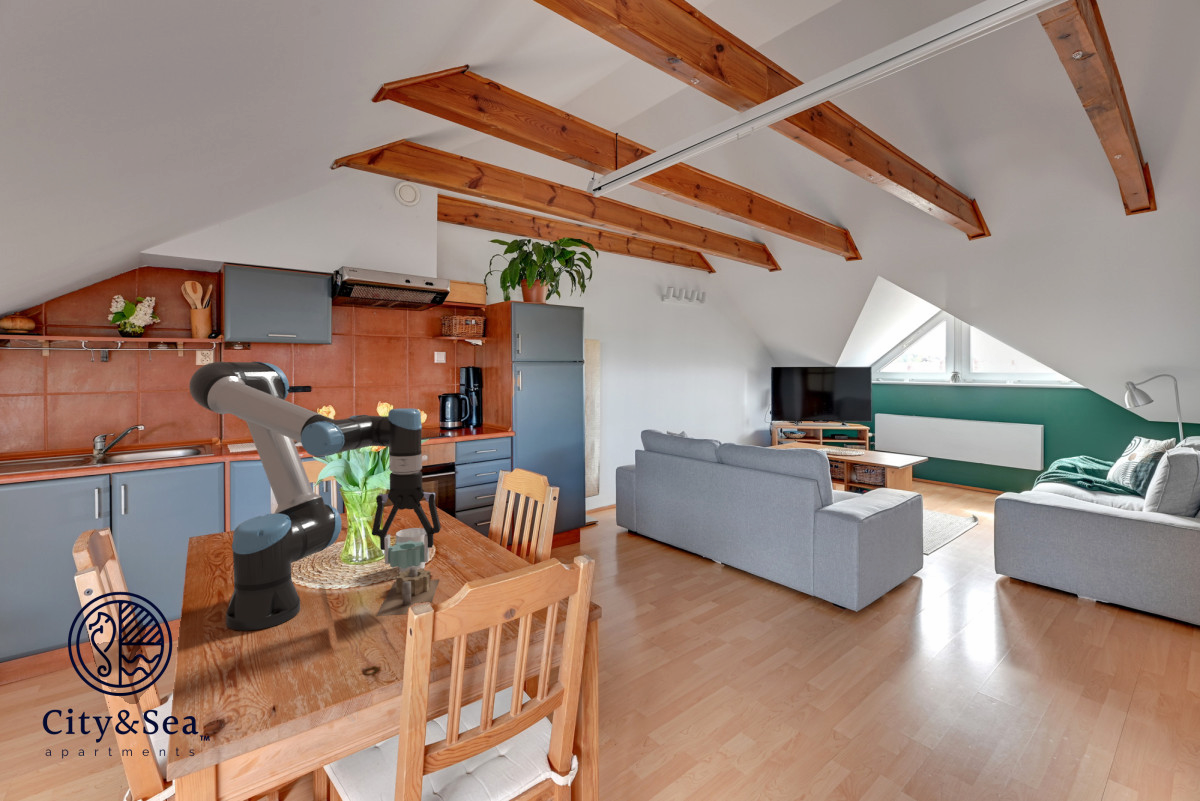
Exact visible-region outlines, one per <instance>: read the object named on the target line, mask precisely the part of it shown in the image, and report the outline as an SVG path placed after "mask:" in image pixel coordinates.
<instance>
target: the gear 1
mask: <svg viewBox="0 0 1200 801" xmlns="http://www.w3.org/2000/svg"><path fill="white" fill-rule="evenodd" d="M421 562H424V544H423V542H421V541H420V542H413V541H408V542H403V543H400V542H398V543H394V545H390V547H389V564H388V565H390V566H389V567H391V568H393V569H394V568H399V567H401V569H404V568H407V567H411V566H419V565H420V563H421Z"/></svg>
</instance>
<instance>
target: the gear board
mask: <svg viewBox="0 0 1200 801" xmlns="http://www.w3.org/2000/svg"><path fill="white" fill-rule="evenodd" d="M409 573H410V577H416V576H417V568H416V567H413V568H410V569H409ZM430 582H431V586H430V587H429V590H428V591H427V592H426V591H423V592H421V593H420V594H419V595H414V594H412V595H411V581H405V582H403V583H402V585H403V595H402V593H401V592H400V593H397V592H396V580H395V581H394V582H393V583H392V585H391V588H390V589H389V591H388V593H387V595H386V597H385V599H384V600H383V602H382V604H381V606H380V608H379V610H377V613H376V615H375V616H376V617H383V616H401V615H408V614H407V612H408V608H409V607H410V606H411V605H413V604H415V603H421V602H430V603H433V600H434V597H435V595H436V591H437V589H438V586H439V583H440V579H430Z"/></svg>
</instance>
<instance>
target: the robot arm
mask: <svg viewBox="0 0 1200 801" xmlns="http://www.w3.org/2000/svg"><path fill="white" fill-rule="evenodd" d="M288 390H290V383H289V379H288V377H287V376H286V374H285V372H284V371H283V370H282V369H281V368H280V367H279V366H277V365H275V364H272V363H270V362H262V361H251V362H250V361H247V362H246V361H244V362H243V361H215V362H210V363H206V364H205V365H202V366H201V367H199V368H198V369H196V371H195V372H194V373H193V374H192V376H191V377H190V380H189V393H190V395H191V397H192V398H193V400H194V401H195V402H196V403H197V404H198V405H200V406H201V407H203V408H204V409H206V410H209V411H211V412H214V413H215V414H220V415H227V414H231V415H232V416H235V417H237V418H238V419H240V420H243V421H244V422H245V423H246V425H247V427H248V430H249V432H250V435H251V438H252V442H253V443H254V445H255V448H256V451H257V454H258V456H259V459H260V462H261V465H262V467H263V470H264V473H265V474H266V478H267V479H268V483H269V486H270V488H271V490H272V494H273V496H274V498H275V501H276V504H277V507H276V508H275V509H276V510H275V511H274V513H268V514H265V515H258V516H254V517H252V518H249V519H247V520H244V521H243V522H241V523H240V524H239V525H237V527H236V528H235V529H234V531H233V532H232V544H231V548H232V549H231V550H232V558H233V562H232V563H233V585H234V586H233V587H234V588H233V592H232V595H231V599H230V601H229V604H228V607H227V610H226V614H225V625H226V626H227V628H229V629H231V630H235V631H241V632H242V631H246V632H247V631H257V630H262V629H268V628H271V627H275V626H277V625H280V624H284V623H285V622H287V621H289V620H291V619H293V618H294V617H296V616H297V615H298V614H299V613H300V611H301V599H300V596H299V594H298V591H297V588H296V586H295V584H294V582H293V578H292V564H293V563H296V562H298V561H301V560H302V559H304V558H308V557H309V556H312V555H313V554H318V553H319V552H323V551H324V550H326V549H327V548H328V547H330V546H332V545H333V544H334V543H336V542H337V540H338V539H339V536H340V534H341V531H342V525H343V524H342V516H341V514H340V513H339V511H338V510H337V508H336V507H333V505H332V504H329V503H326V502H325V501H324V498H323V496H322V495H319V494H317V493H315V492H314V490H313V488H312V486H311V482H310V480H309V477H308V475H307V472H306V469H305V466H304V465H303V462H302V461H303V460H302V459H301V457H300V453H299V452H298V449H297V446H296V444H295V441H296V442H299V443H300V444H301V446H302V448H303V449H304V450H305V451H306V453H307V454H308V455H310V456H313V457H323V456H324V457H329V456H333V455H336V454H339V453H344V452H348V451H353V450H359V449H364V448H368V447H386V448H388V452H389V455H388V458H389V462H388V464H389V471H390V474H389V491H388V493H384V494H383V493H379V494H378V495H377V496H376V498H375V500H376V505H377V506H376V510H375V514H374V516H375V517H374V520H373V526H372V530H371V535H372V536H373V537H374V536H377V537H379V540H380V541H379V546H380V547H379V549H380V551H384V564H385V565H390V564H389V547H390V546H391V534H388V532H389V530H390V528H391V526H392V523H393V521H394V519H395V517H396V516H397V513H398V511H399V510H401V511H402V510H413V512H414V513H415V514H416V516H417V518H418V520H419V521H420V523H421V526H422V527H423V529H425V531H426V534H425V536H424V562H425V563H428V562H429V560H430V548H433V546H434V535H435V534H436V533H437V534H438V533H439V532H441V528H442V526H441V522H440V518H439V513H438V509H437V506H436V505H437V504H436V495H437V493H436V492H435V491H432V492H426V491H425V490H424V489H423V472H422V469H423V453H422V430H423V425H422V415H421V411H420V410H419V409H417V408H401V407H400V408H393V409H389V411H388V415H387V416H382V415H368V414H361V415H359V414H358V415H351V416H350V417H348V418H341V419H334V418H332V417H328V416H326V415H323V414H320V413H318V412H316V411H313V410H311V409H309V408H305V407H303V406H300V405H298V404H295V403H293V402H290V401H288V400H286V399H287V398H288V395H289V391H288ZM423 498H424V499H425V501H426V502H427V503H428V508H429V513H430V517H431V521H432V524H431V523H430V520H429V518H428V516H427V515H426V513H425V511H424V509H423V506H422V504H421V503H420V502H421V501H422V500H423ZM388 499H389V500H390V502H391V503H392V504H393V506H392V508H391V510H390V512H389V515H388V517H387V519H386V521H385V522H384V525H383V527H382V529H381V525H382V520H383V514H384V508H385V504H386V503H387V501H388ZM432 525H433V526H432Z"/></svg>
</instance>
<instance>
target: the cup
mask: <svg viewBox="0 0 1200 801" xmlns="http://www.w3.org/2000/svg"><path fill="white" fill-rule="evenodd" d="M425 534H426V531H425V529H424V527H423V528H422V527H409V528H404V529H400V530H399V531H397V532H395V543H398V542H400V543H403V542H408V541H413V542H420V541H421V542H423V544H424V536H425ZM395 543H394V544H395ZM425 566H426V562H421V563H420V565H419V566H411V567H407V568H404V569H401V567H398V570H399V572H405V571H408V569H410V568H413V567H416V568H417V569H420V568H424V569H425Z"/></svg>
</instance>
